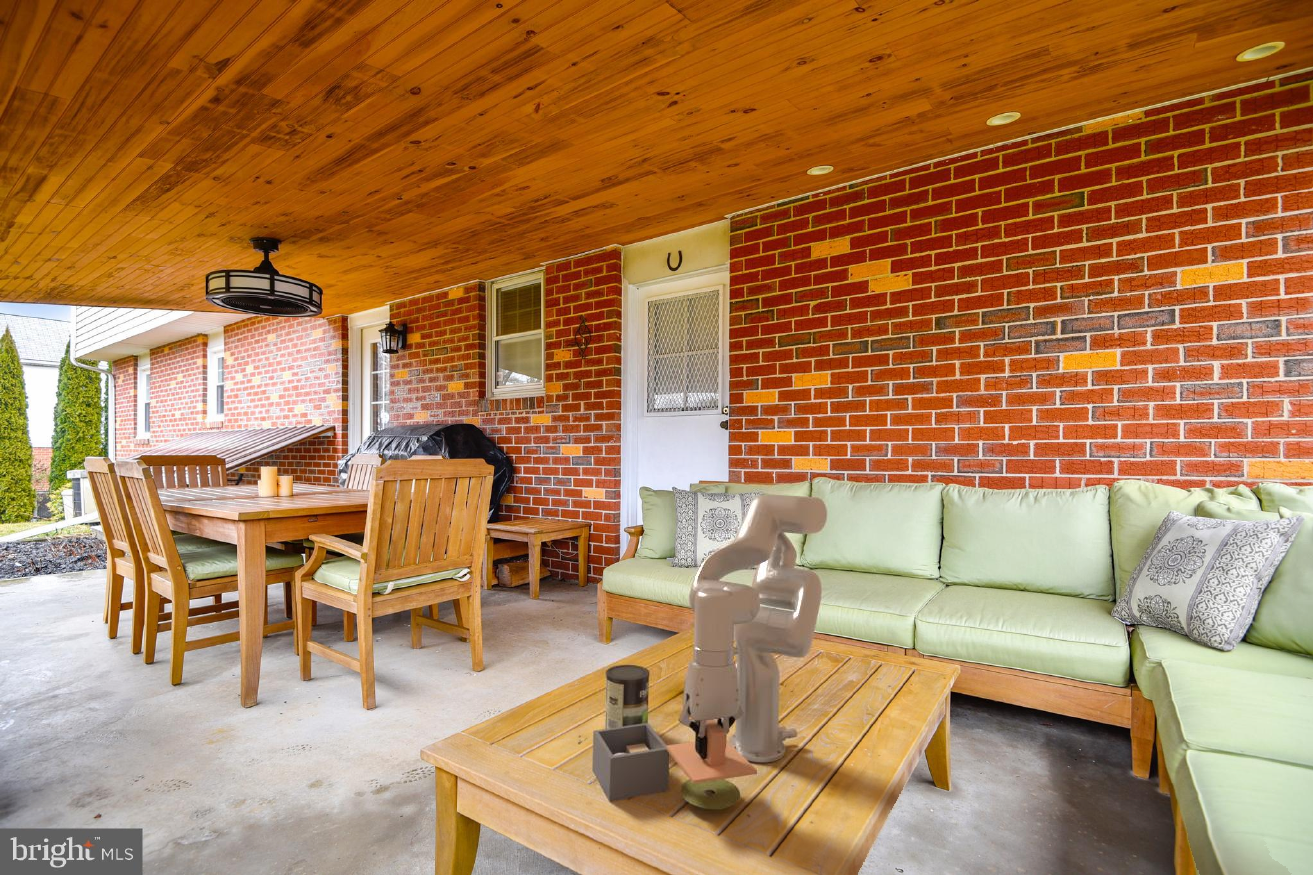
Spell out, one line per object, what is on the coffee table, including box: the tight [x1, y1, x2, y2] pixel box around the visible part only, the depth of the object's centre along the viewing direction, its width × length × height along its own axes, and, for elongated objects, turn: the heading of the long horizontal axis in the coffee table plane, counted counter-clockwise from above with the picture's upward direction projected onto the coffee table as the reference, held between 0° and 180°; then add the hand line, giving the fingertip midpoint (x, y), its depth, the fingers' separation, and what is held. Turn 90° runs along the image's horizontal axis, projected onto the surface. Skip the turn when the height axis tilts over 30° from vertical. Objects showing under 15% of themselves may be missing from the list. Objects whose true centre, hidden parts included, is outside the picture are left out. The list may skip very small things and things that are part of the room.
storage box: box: [591, 722, 670, 802], centre depth 121 cm, size 12×12×8 cm
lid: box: [666, 719, 758, 784], centre depth 114 cm, size 13×13×7 cm
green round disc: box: [680, 778, 741, 810], centre depth 114 cm, size 11×11×2 cm
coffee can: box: [604, 664, 650, 729], centre depth 142 cm, size 10×10×14 cm
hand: (710, 753), depth 114 cm, fingers closed on lid, 3 cm apart
